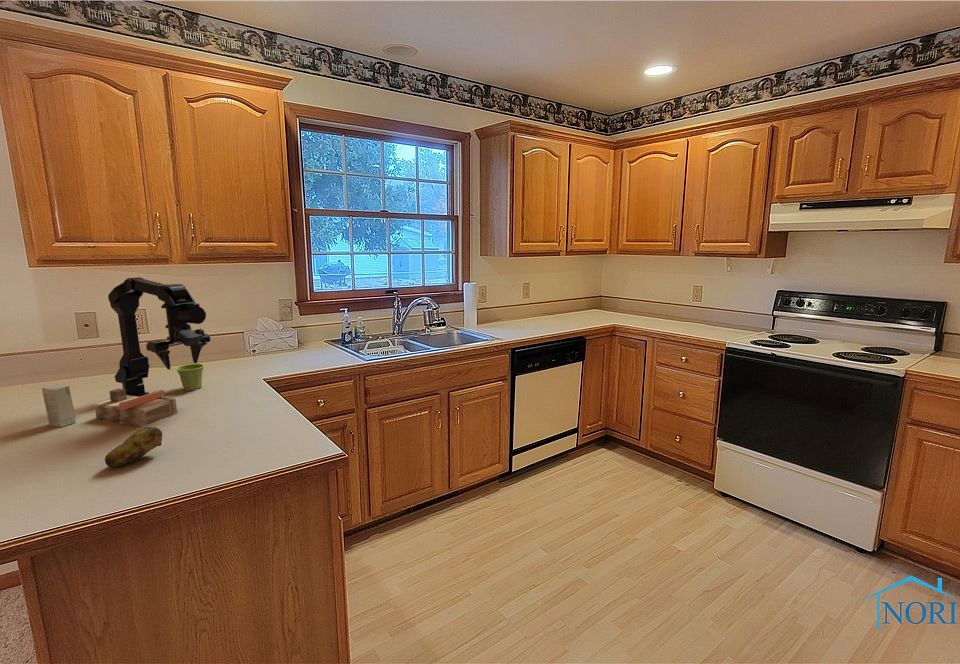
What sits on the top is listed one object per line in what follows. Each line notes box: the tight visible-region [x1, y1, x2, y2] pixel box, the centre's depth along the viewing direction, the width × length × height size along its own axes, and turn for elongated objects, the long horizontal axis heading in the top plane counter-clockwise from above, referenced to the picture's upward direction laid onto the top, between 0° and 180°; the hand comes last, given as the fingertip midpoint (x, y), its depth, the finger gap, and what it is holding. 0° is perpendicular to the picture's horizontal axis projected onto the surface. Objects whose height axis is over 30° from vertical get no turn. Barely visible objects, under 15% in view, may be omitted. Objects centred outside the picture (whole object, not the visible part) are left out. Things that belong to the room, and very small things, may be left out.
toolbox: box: [94, 390, 178, 428], centre depth 155 cm, size 20×12×7 cm, turn 75°
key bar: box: [120, 389, 166, 410], centre depth 153 cm, size 2×14×2 cm, turn 165°
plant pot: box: [175, 363, 205, 391], centre depth 184 cm, size 9×9×9 cm
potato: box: [104, 426, 163, 468], centre depth 124 cm, size 8×13×8 cm, turn 132°
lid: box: [95, 387, 170, 412], centre depth 154 cm, size 20×9×4 cm, turn 75°
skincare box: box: [41, 384, 77, 428], centre depth 148 cm, size 6×4×12 cm
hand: (182, 366), depth 164 cm, fingers open, 9 cm apart
